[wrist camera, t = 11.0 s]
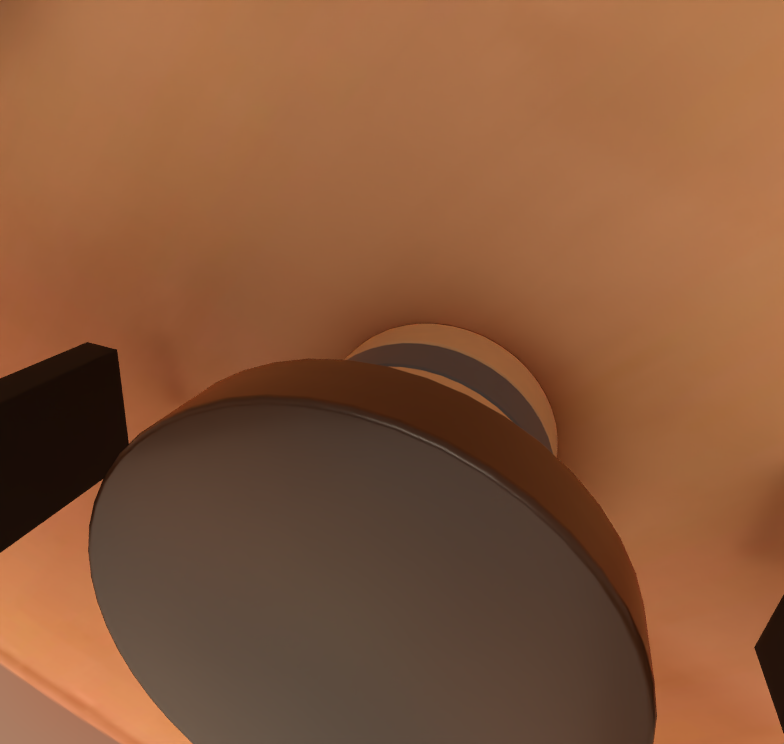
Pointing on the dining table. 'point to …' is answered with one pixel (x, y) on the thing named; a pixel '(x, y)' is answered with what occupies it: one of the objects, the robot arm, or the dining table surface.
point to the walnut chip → (366, 570)
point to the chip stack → (466, 371)
